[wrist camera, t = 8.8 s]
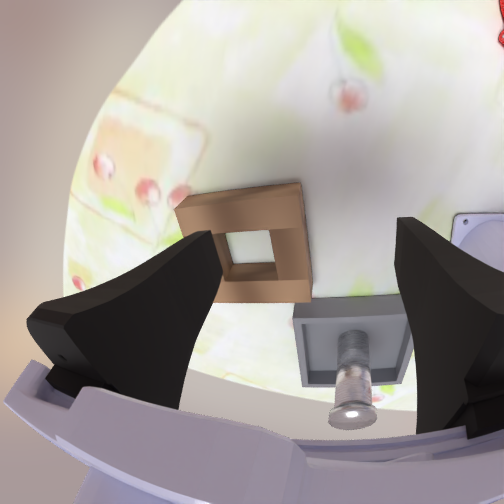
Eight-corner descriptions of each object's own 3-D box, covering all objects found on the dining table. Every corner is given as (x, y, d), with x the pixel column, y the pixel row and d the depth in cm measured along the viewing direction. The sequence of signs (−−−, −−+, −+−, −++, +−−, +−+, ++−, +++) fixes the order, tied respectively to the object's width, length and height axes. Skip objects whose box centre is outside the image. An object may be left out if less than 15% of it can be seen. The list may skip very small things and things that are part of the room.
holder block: (300, 182, 20) (298, 195, 18) (312, 282, 25) (310, 302, 22) (187, 196, 23) (173, 209, 21) (216, 284, 27) (207, 302, 25)
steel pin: (370, 323, 25) (376, 408, 18) (373, 349, 27) (376, 427, 19) (330, 330, 26) (324, 413, 19) (336, 354, 28) (332, 431, 21)
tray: (417, 292, 23) (423, 312, 21) (399, 366, 28) (401, 383, 26) (295, 298, 26) (292, 318, 24) (304, 369, 32) (302, 387, 30)
